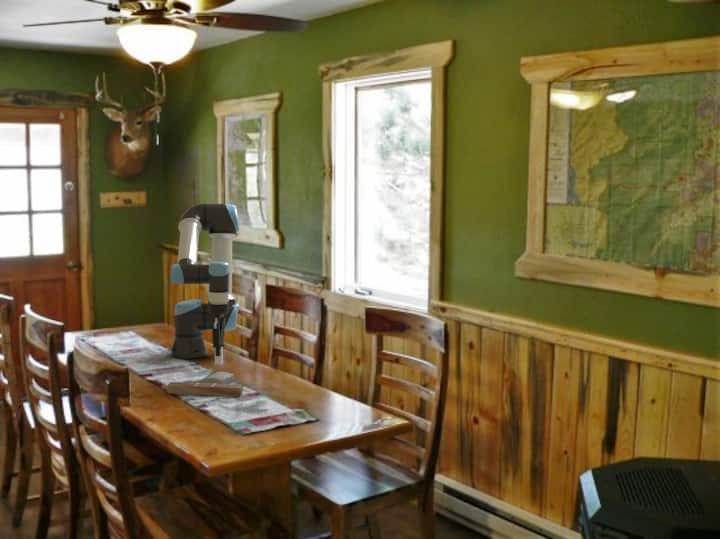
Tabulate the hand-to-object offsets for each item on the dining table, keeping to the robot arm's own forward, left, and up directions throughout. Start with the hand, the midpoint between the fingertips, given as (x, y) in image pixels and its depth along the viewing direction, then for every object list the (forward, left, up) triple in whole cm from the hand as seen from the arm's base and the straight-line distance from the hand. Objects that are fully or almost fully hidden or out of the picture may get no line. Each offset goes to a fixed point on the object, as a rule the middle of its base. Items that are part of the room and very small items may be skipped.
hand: (218, 363), depth 299 cm
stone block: (+9, +1, -6) cm, 11 cm away
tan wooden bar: (+22, 0, -5) cm, 22 cm away
